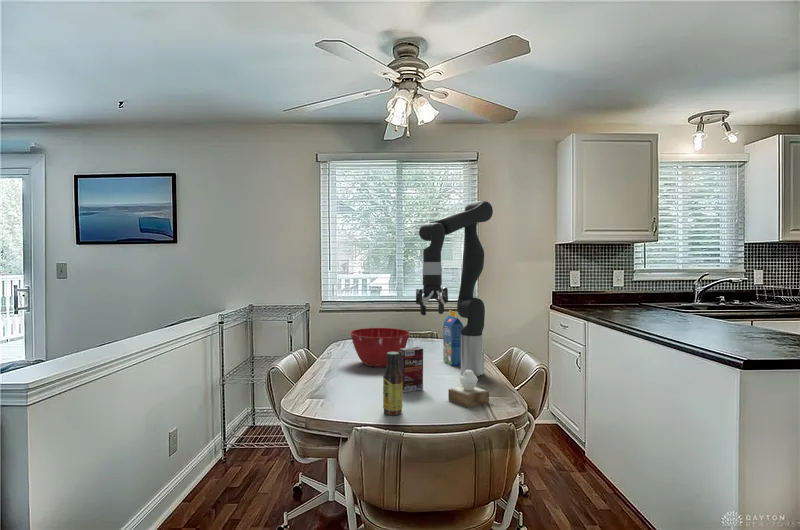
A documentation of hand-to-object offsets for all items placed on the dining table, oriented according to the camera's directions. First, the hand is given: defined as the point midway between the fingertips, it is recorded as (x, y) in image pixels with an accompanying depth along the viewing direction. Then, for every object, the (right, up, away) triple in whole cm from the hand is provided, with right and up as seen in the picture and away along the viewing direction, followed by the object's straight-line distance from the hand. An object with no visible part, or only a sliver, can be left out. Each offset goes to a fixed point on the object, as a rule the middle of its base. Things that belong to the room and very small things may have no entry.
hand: (432, 314), depth 196 cm
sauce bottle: (-15, -29, -35) cm, 48 cm away
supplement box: (-9, -29, -6) cm, 30 cm away
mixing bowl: (-22, -28, +40) cm, 53 cm away
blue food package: (+13, -28, +41) cm, 51 cm away
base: (+11, -28, -22) cm, 38 cm away
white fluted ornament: (+11, -24, -22) cm, 35 cm away
